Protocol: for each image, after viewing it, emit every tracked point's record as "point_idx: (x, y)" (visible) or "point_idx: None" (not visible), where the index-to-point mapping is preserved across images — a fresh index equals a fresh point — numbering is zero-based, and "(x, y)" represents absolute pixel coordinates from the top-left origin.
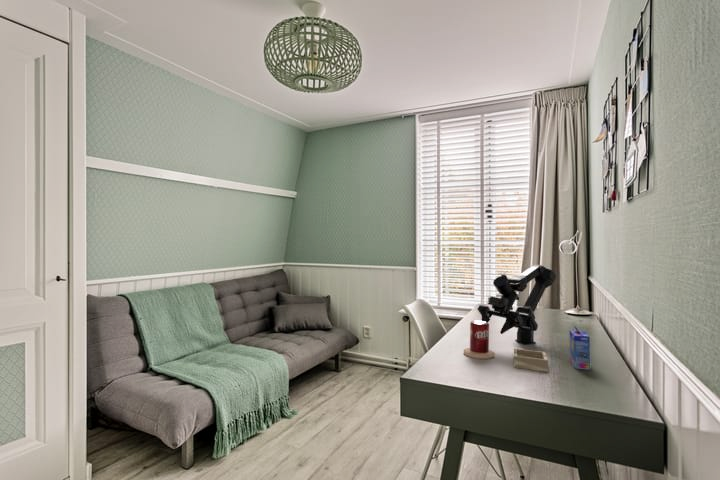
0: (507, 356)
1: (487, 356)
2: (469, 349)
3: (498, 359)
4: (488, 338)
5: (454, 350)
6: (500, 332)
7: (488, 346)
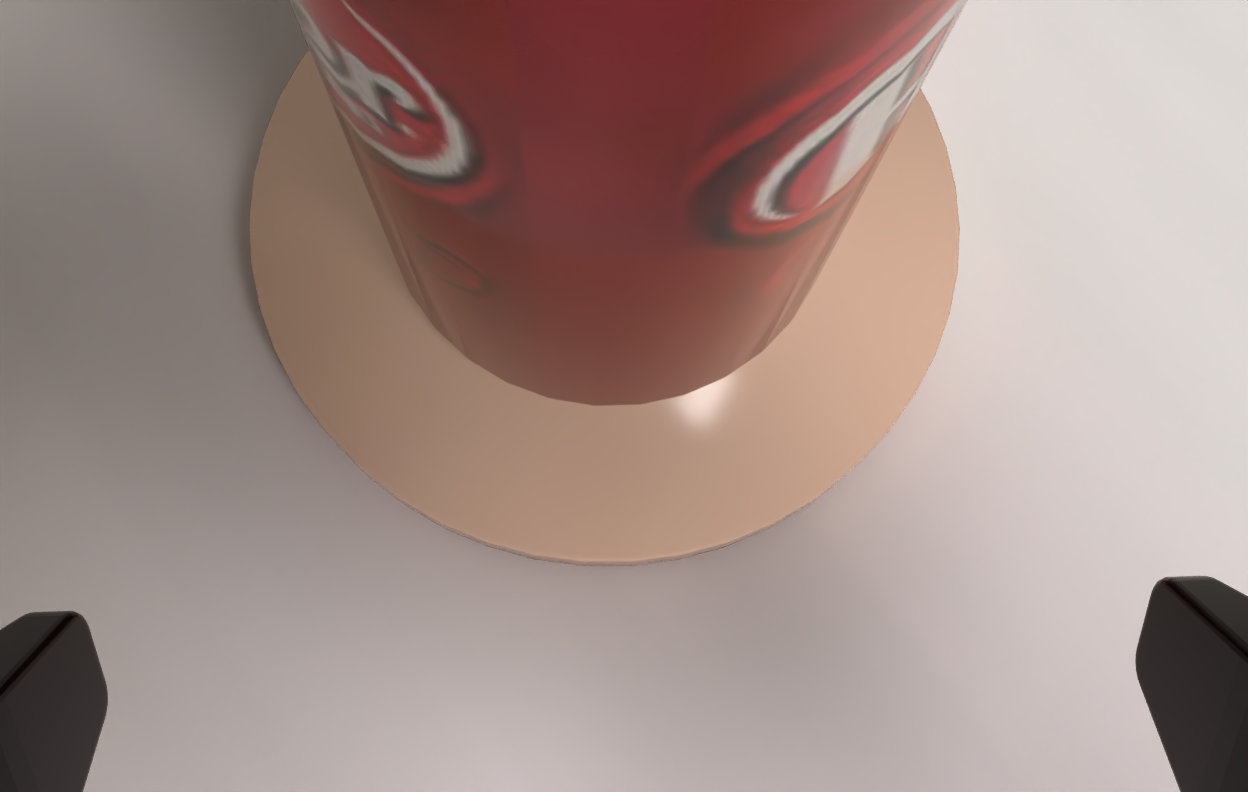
0: (108, 672)
1: (290, 88)
2: (871, 192)
3: (135, 287)
4: (313, 59)
5: (1098, 52)
6: (63, 615)
7: (372, 203)
